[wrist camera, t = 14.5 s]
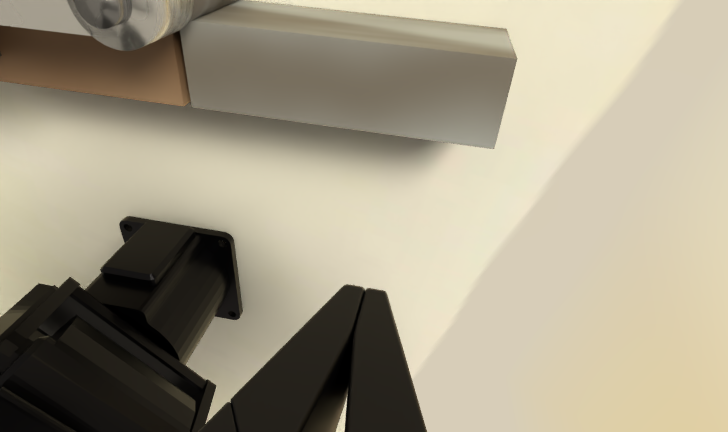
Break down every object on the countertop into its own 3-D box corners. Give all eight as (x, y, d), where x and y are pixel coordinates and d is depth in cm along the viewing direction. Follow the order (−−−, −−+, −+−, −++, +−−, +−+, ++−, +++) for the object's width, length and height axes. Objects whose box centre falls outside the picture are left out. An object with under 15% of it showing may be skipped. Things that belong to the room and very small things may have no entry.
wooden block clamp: (488, 106, 19) (499, 186, 13) (3, 43, 21) (-151, 91, 16) (522, -39, 16) (553, -10, 10) (-48, -93, 18) (-261, -91, 13)
